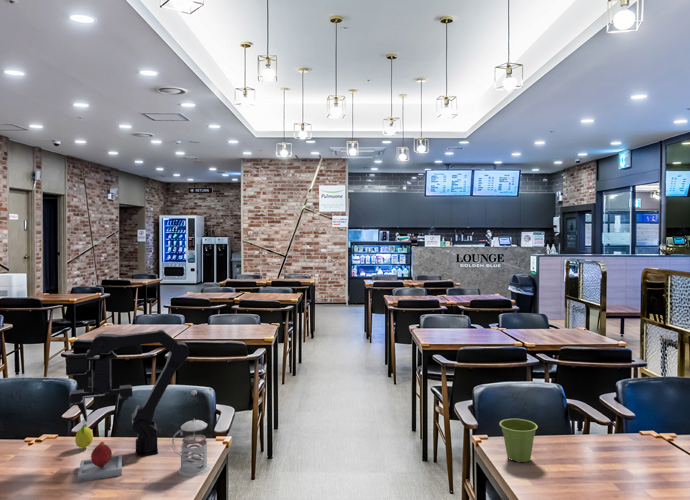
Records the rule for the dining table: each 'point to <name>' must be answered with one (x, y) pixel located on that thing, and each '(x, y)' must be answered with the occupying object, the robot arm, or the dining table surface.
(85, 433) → the lemon
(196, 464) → the french press
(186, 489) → the dining table surface
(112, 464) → the dish
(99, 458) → the onion
